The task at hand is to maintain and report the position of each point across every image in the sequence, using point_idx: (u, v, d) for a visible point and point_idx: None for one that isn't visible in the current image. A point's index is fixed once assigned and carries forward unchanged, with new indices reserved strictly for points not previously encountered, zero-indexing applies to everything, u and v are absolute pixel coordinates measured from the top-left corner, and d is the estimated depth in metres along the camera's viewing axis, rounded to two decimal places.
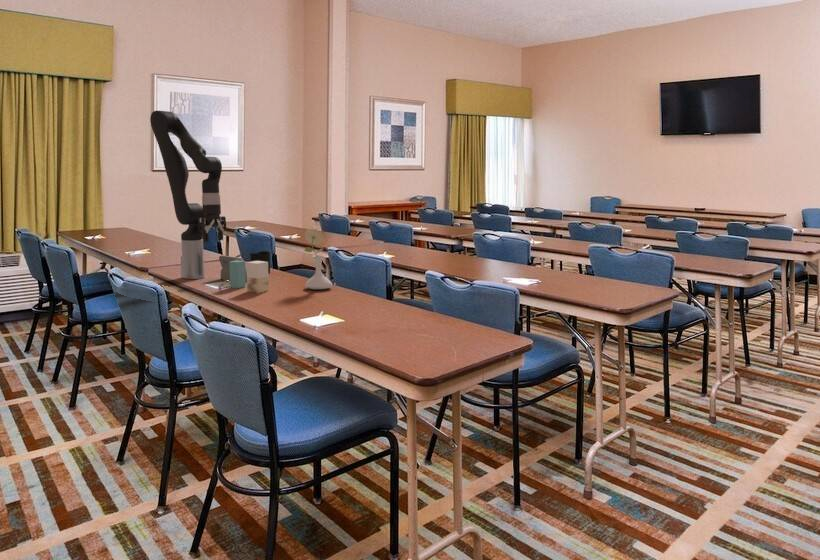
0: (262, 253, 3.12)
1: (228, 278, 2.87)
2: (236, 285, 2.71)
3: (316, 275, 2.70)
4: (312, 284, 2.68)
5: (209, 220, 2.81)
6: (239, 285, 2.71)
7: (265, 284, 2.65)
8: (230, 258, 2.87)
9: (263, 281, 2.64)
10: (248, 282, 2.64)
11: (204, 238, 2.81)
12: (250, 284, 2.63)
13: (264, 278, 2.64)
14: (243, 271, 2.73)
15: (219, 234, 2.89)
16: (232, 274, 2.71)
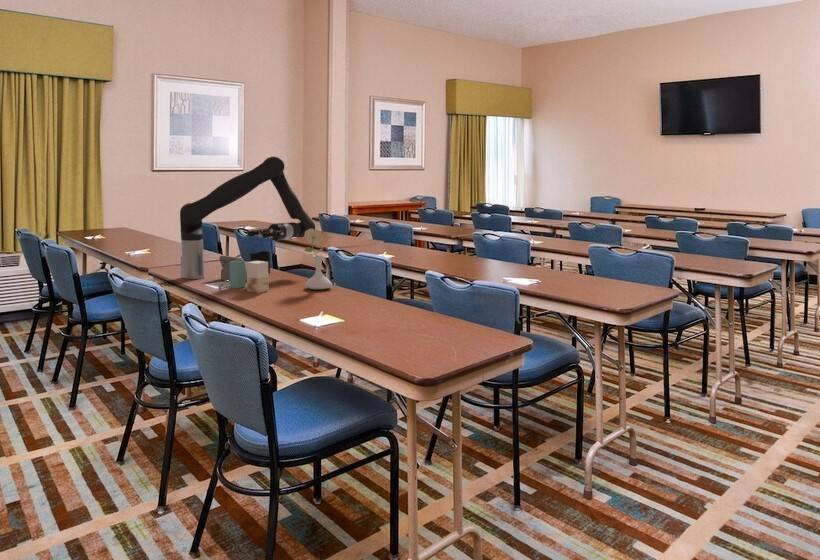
0: (262, 253, 3.12)
1: (228, 278, 2.87)
2: (236, 285, 2.71)
3: (316, 275, 2.70)
4: (312, 284, 2.68)
5: None
6: (239, 285, 2.71)
7: (265, 284, 2.65)
8: (230, 258, 2.87)
9: (264, 281, 2.64)
10: (248, 282, 2.64)
11: None
12: (250, 284, 2.63)
13: (264, 278, 2.64)
14: (243, 271, 2.73)
15: (252, 233, 2.84)
16: (232, 274, 2.71)
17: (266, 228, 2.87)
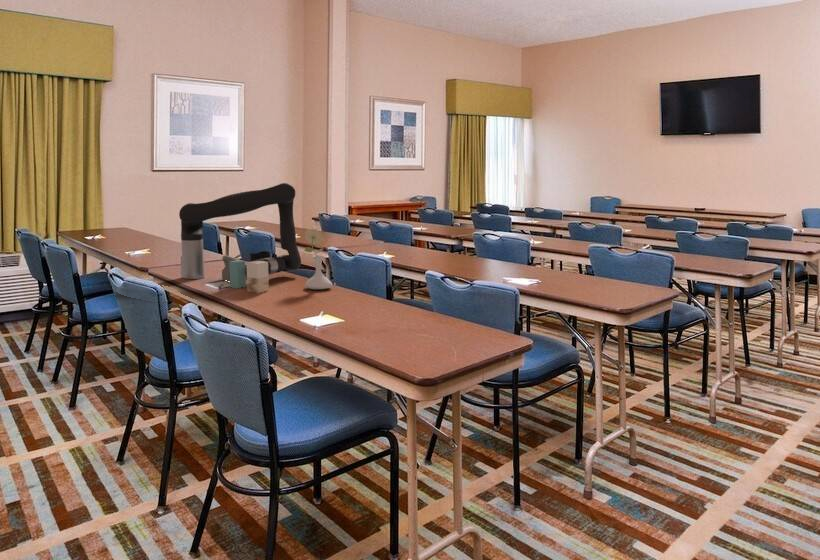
0: (262, 253, 3.12)
1: (226, 278, 2.86)
2: (236, 285, 2.71)
3: (316, 275, 2.70)
4: (312, 284, 2.68)
5: None
6: (239, 285, 2.71)
7: (265, 284, 2.65)
8: (229, 258, 2.86)
9: (264, 281, 2.64)
10: (248, 282, 2.64)
11: None
12: (250, 284, 2.63)
13: (264, 278, 2.64)
14: (243, 271, 2.73)
15: None
16: (232, 274, 2.71)
17: None
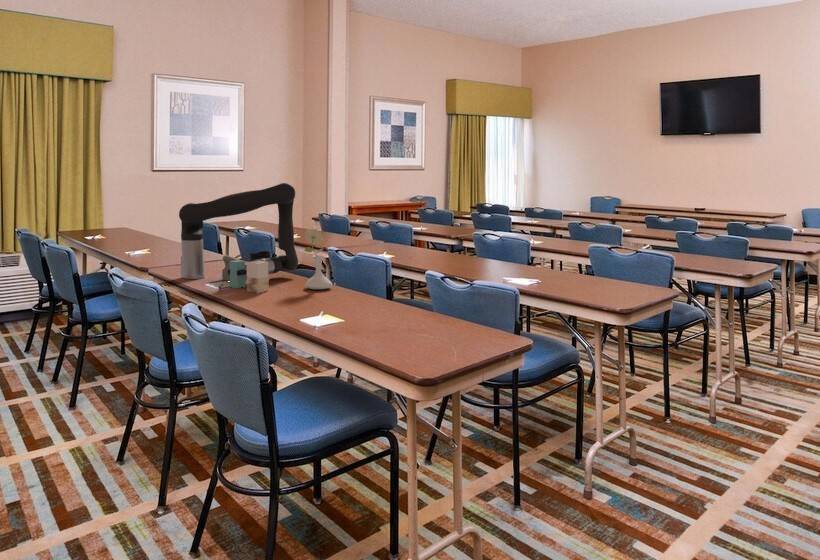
0: (262, 253, 3.12)
1: (226, 278, 2.86)
2: (236, 285, 2.71)
3: (316, 275, 2.70)
4: (312, 284, 2.68)
5: None
6: (239, 285, 2.71)
7: (265, 284, 2.65)
8: (229, 258, 2.86)
9: (264, 281, 2.64)
10: (248, 282, 2.64)
11: (241, 272, 2.70)
12: (250, 284, 2.63)
13: (264, 278, 2.64)
14: None
15: None
16: (232, 274, 2.71)
17: (246, 265, 2.78)
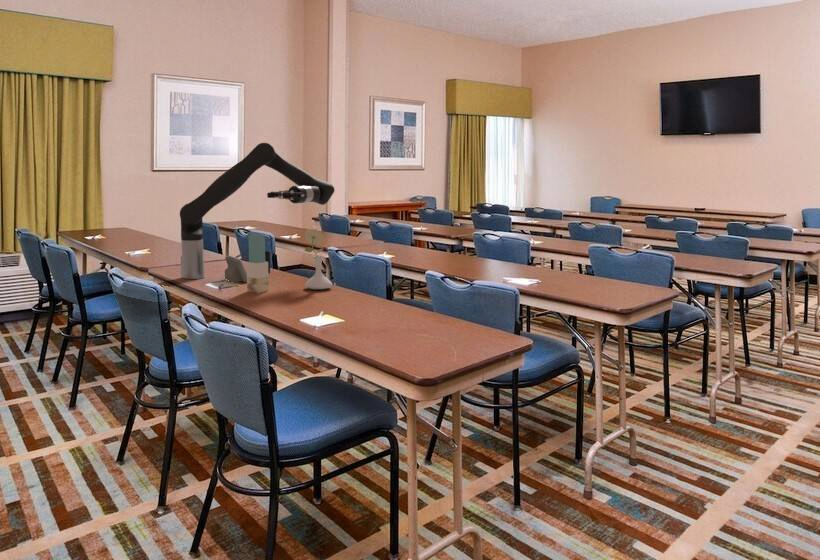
0: None
1: (229, 278, 2.86)
2: (255, 259, 2.61)
3: (316, 275, 2.70)
4: (312, 284, 2.68)
5: (295, 197, 2.79)
6: (259, 259, 2.61)
7: (265, 284, 2.65)
8: (231, 258, 2.86)
9: (264, 281, 2.64)
10: (248, 282, 2.64)
11: (287, 195, 2.71)
12: (250, 284, 2.63)
13: (264, 278, 2.64)
14: (262, 245, 2.63)
15: (272, 194, 2.77)
16: (252, 248, 2.61)
17: (286, 190, 2.80)
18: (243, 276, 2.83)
